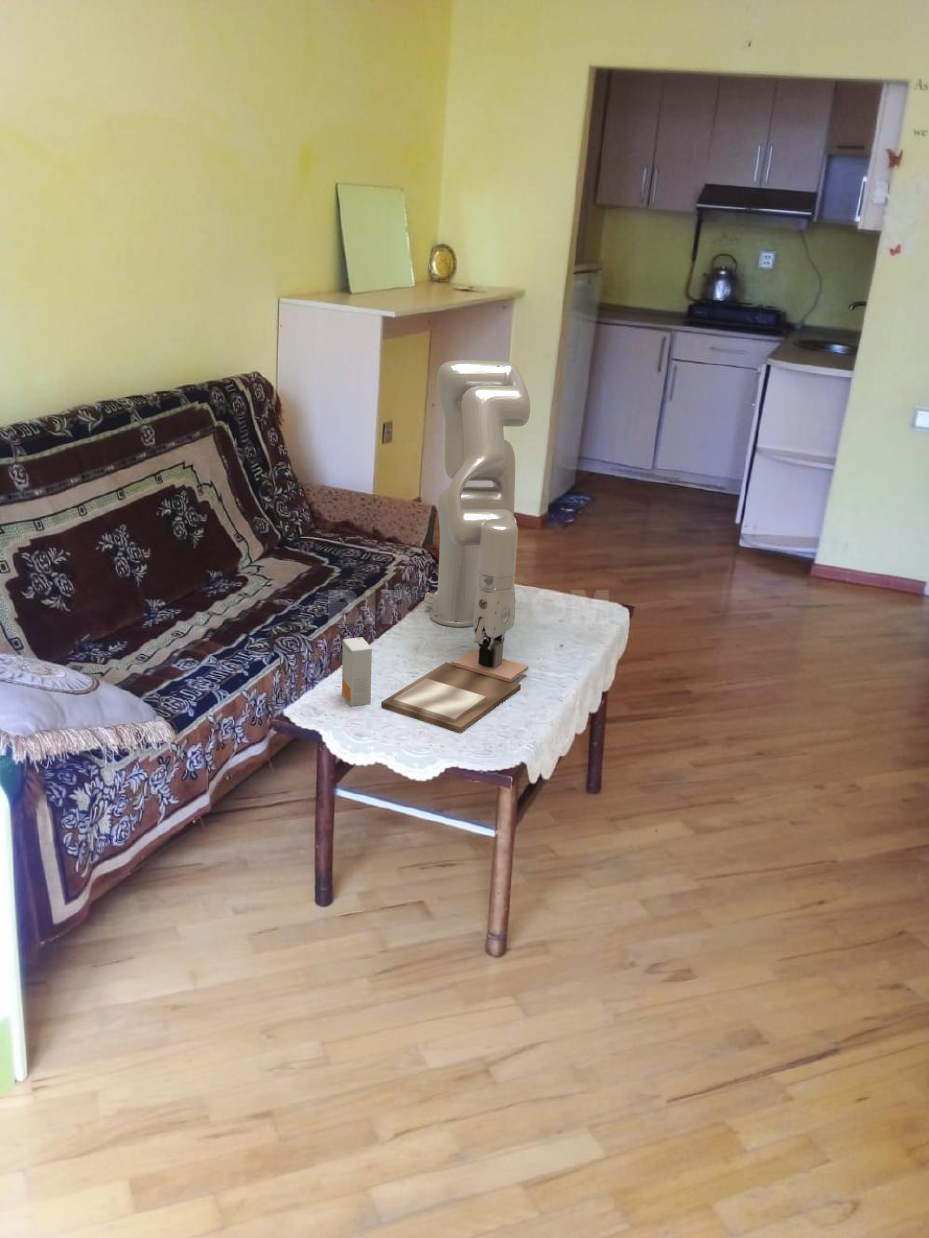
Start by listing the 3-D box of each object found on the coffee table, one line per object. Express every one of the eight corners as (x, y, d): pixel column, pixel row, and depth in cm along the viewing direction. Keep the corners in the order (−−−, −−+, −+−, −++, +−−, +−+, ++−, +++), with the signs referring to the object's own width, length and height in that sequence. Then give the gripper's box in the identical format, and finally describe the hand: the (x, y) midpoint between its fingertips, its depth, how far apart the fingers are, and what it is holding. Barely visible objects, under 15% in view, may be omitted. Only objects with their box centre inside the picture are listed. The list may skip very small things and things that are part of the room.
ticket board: (381, 707, 215) (381, 698, 214) (445, 667, 234) (446, 658, 233) (460, 733, 206) (461, 723, 206) (520, 689, 226) (521, 680, 225)
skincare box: (341, 694, 219) (342, 638, 215) (361, 691, 221) (362, 636, 216) (350, 707, 214) (351, 650, 210) (371, 704, 216) (372, 648, 211)
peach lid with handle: (451, 665, 232) (452, 639, 230) (470, 653, 238) (472, 628, 236) (510, 682, 225) (512, 656, 223) (528, 669, 232) (530, 644, 230)
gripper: (492, 594, 216) (486, 680, 223) (530, 573, 230) (524, 654, 236) (459, 586, 220) (454, 670, 227) (499, 565, 233) (493, 645, 240)
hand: (490, 661), depth 231 cm, fingers closed on peach lid with handle, 3 cm apart
